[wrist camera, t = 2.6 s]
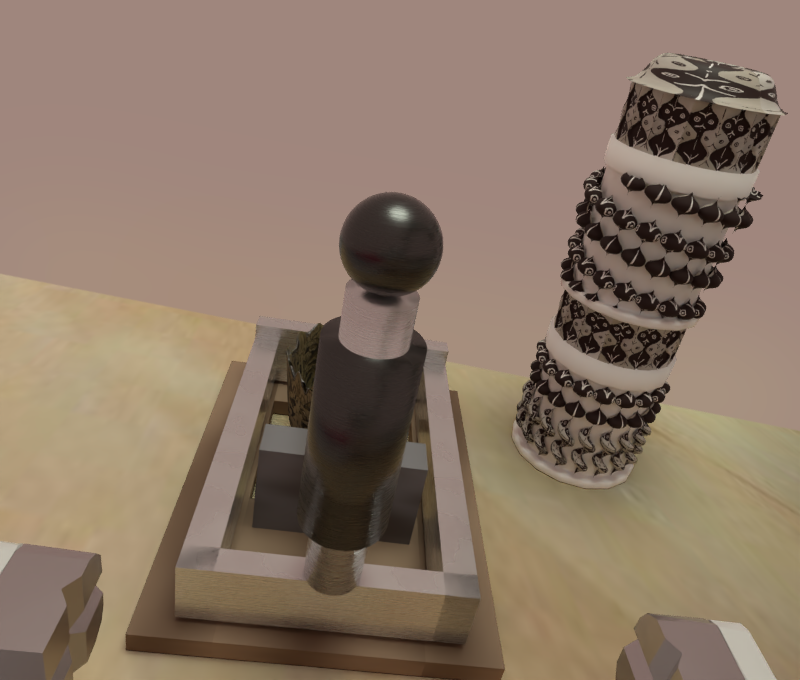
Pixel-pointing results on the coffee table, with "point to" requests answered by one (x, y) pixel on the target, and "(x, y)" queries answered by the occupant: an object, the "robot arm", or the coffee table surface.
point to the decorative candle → (643, 263)
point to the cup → (302, 376)
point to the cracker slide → (347, 459)
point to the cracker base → (281, 534)
